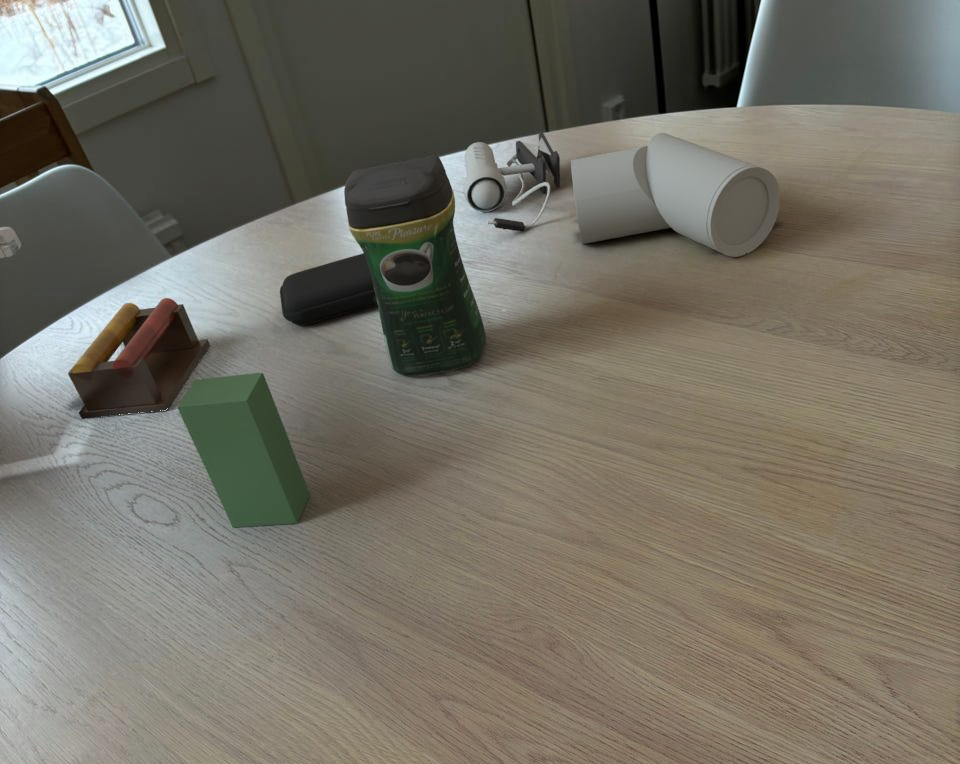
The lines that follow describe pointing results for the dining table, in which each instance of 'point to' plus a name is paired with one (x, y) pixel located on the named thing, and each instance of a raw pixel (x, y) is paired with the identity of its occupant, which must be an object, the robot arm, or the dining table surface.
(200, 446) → the green bar
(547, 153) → the clip-on lamp
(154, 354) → the rod stand
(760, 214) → the l-shaped cylinder
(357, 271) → the carrying case
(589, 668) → the dining table surface
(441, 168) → the coffee jar
